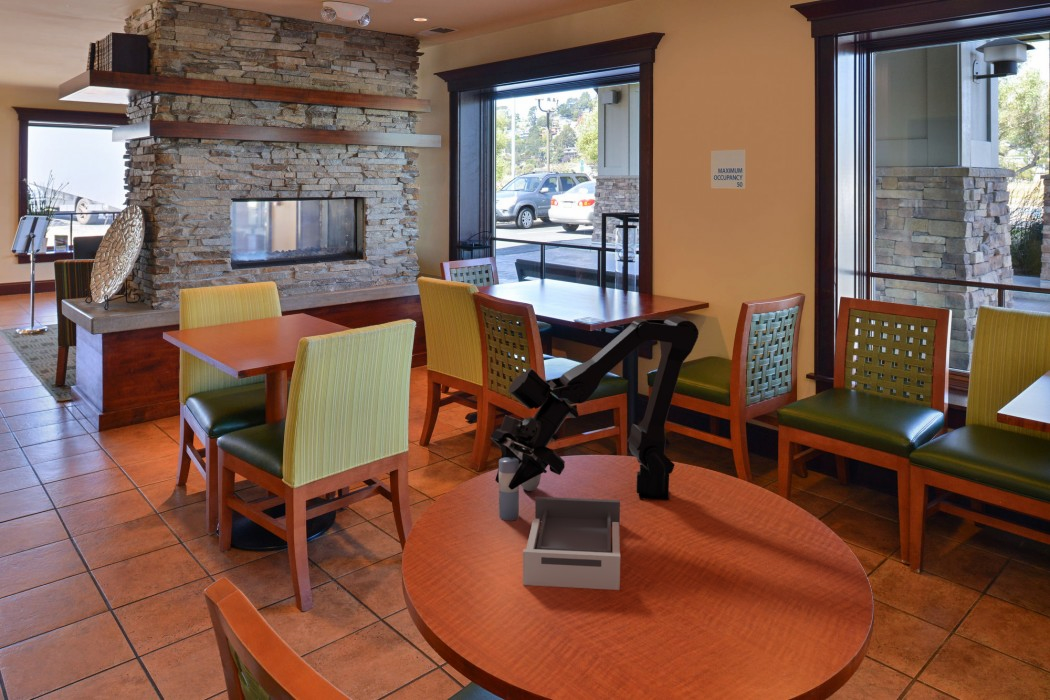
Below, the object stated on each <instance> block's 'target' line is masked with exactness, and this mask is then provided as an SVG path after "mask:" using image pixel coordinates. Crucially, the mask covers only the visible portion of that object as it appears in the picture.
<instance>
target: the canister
mask: <svg viewBox="0 0 1050 700" xmlns="http://www.w3.org/2000/svg"><path fill="white" fill-rule="evenodd" d="M498 469H499V483H498V501H499V502H498V511H499V513H498V516H499V519H501V520H502V521H514V520H515V521H516V520H517V519H519V517H520V499H519V498H520V485H519V486H518V487H516V488H514V489H513V490H511V489H510V488H509V487H508V486H509V484H510V482H511V480H512V478H513V477H514V475H515V473H516V472H517V470H518V469H519V460H518V459H517V458H512V457H506V458H501V457H500V459H499V460H498Z"/></svg>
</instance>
